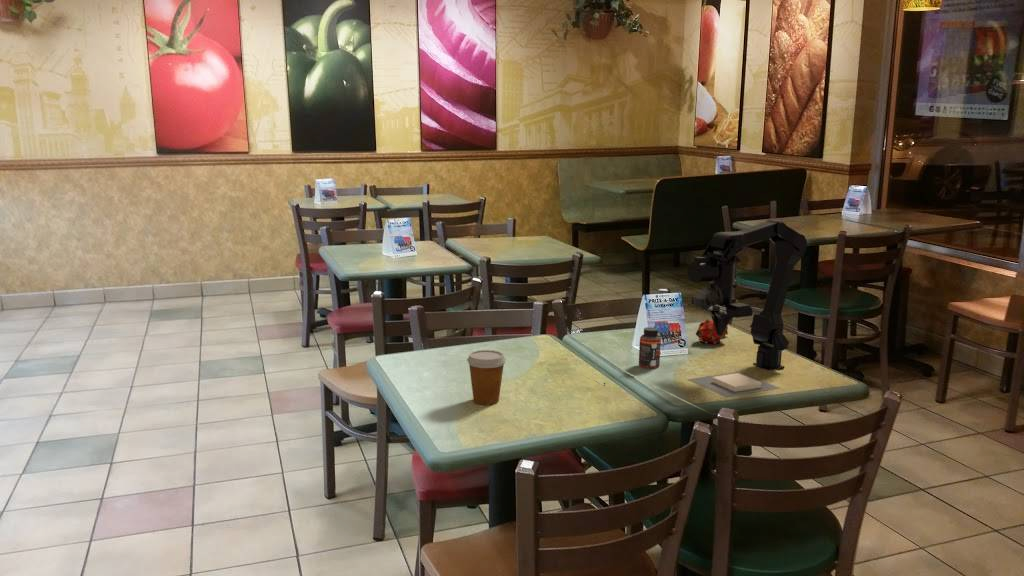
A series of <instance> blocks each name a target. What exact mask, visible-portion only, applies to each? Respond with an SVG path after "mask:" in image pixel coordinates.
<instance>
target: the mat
mask: <svg viewBox="0 0 1024 576" xmlns="http://www.w3.org/2000/svg"><path fill="white" fill-rule="evenodd" d="M735 373H740V374H742V375H744V376H747V377H749V378H752V379H754V380H757V381H759V382H762V383H761V388H755V389H749V390H743V391H737V392H734V391H731V390H729V389H727V388H725V387H722V386H720V385H718V384H715V383H713V382H712V377H716V376H722V375H729V374H735ZM687 380H688V381H689V382H692V383H694V384H696V385H698V386H701V387H703V388H705V389H707V390H709V391H711V392H714V393H716V394H718V395H720V396H723V397H724V398H729V397H731V398H732V397H737V396H741V395H742V396H743V395H748V394H754V393H760V392H766V391H767V392H768V391H773V390H778V389H780V387H778V386H777V385H776V386H775V385H773V384H770V383H768V382H765V381H763V380H761V379H758V378H755V377H754V376H751V375H749V374H746V373H743V372H741V371H734V372H727V373H721V374H714V375H709V376H702V377H700V376H699V377H693V378H687Z"/></svg>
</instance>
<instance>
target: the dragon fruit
mask: <svg viewBox="0 0 1024 576" xmlns="http://www.w3.org/2000/svg"><path fill="white" fill-rule="evenodd" d="M728 329H729V325H727V327H726V329H725V330H724V332H723V334H722V335H721V336H718V335H717V334H716V330H715V326H714V323H713V320H712V319H711V320H710V319H708V318H707V319H705V321H703V322H700V323H699V325H698V329H697V330H696V332H695V336H696V337H698V340H699V342H700V343H704V342H708V343H713V345H715V344H717V342H718V343H720V342H721V340H725V339H727V338H728V336H727V335H729V333H728Z"/></svg>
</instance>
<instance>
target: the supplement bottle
mask: <svg viewBox="0 0 1024 576" xmlns="http://www.w3.org/2000/svg"><path fill="white" fill-rule="evenodd" d="M661 338H662V337H661V336H660V335H659V329H658V328H656V327H653V326H652V327H647V326H645V327H644V328H643V334H641V336H640V337H639V349H638V350H639V351H638V366H639V367H640V368H644V369H653V370H654V369H657V368H659V367H660V364H661V363H660V362H661V361H660V360H661V345H662V339H661Z"/></svg>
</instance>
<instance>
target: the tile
mask: <svg viewBox="0 0 1024 576" xmlns="http://www.w3.org/2000/svg"><path fill="white" fill-rule="evenodd" d="M712 382H713V383H715V384H718V385H720V386H722V387H725V388H727V389H729V390H731V391H734V392H737V391H743V390H749V389H755V388H761V383H762V382H759V381H757V380H754V379H752V378H749V377H747V376H744V375H742V374H740V373H735V374H729V375H722V376H716V377H712Z"/></svg>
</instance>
